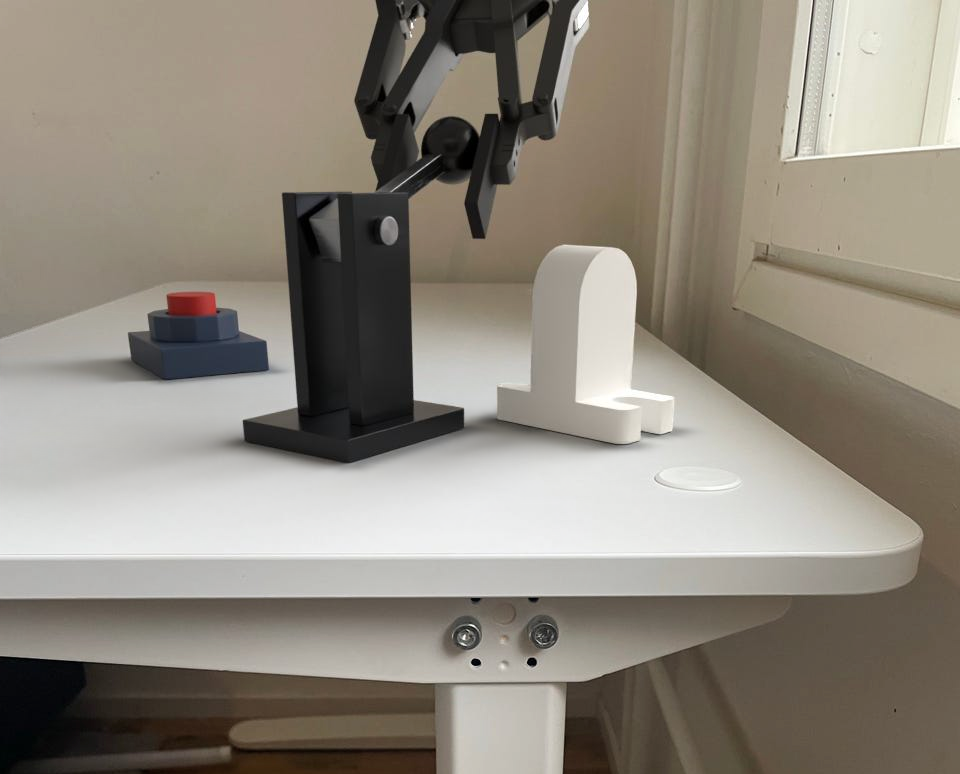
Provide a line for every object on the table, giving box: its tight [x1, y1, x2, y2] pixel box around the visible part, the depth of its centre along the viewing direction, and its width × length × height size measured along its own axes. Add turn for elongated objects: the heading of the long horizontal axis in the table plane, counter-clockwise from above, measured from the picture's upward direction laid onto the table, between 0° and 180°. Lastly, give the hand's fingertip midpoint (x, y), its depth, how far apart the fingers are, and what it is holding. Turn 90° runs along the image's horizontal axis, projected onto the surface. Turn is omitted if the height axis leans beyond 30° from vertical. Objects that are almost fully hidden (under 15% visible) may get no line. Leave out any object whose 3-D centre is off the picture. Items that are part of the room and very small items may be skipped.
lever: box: [309, 115, 480, 263], centre depth 57 cm, size 13×4×4 cm, turn 144°
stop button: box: [165, 291, 217, 316], centre depth 78 cm, size 4×4×2 cm
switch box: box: [127, 307, 270, 381], centre depth 79 cm, size 10×8×4 cm
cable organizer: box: [496, 244, 676, 445], centre depth 59 cm, size 5×10×10 cm, turn 46°
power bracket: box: [242, 190, 465, 463], centre depth 56 cm, size 10×8×13 cm
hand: (429, 219), depth 58 cm, fingers open, 5 cm apart
